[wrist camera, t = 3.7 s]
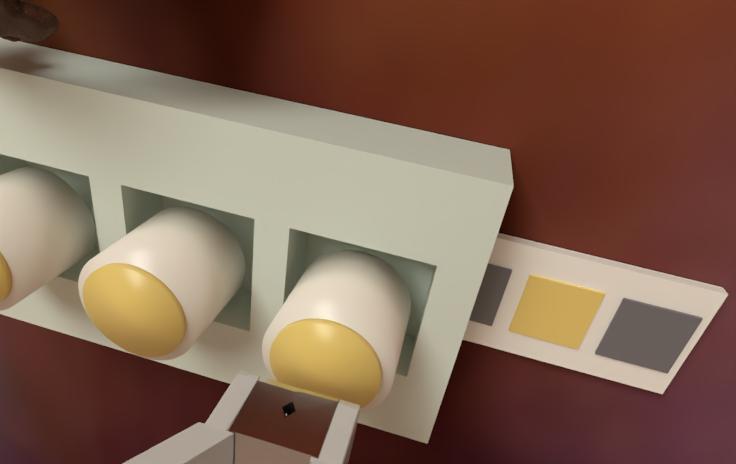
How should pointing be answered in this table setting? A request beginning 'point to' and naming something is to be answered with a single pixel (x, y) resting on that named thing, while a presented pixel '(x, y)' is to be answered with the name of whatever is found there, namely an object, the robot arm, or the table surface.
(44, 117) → the button board
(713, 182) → the table surface
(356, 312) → the button
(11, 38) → the pottery mug
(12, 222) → the button
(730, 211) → the table surface
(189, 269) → the button
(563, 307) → the card
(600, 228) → the table surface
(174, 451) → the robot arm
